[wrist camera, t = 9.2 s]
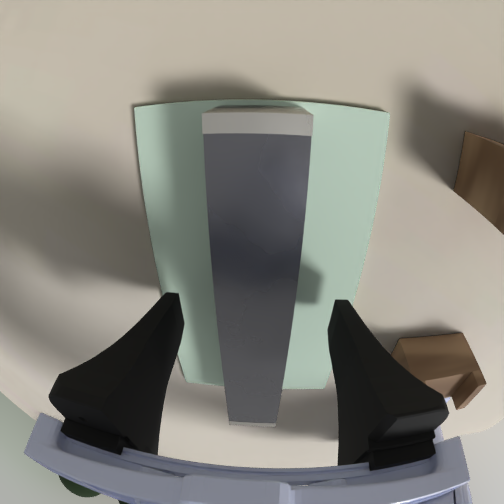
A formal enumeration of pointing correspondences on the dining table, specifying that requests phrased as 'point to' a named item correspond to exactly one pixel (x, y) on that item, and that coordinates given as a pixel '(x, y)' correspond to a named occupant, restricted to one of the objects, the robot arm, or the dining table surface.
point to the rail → (255, 245)
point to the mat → (314, 238)
